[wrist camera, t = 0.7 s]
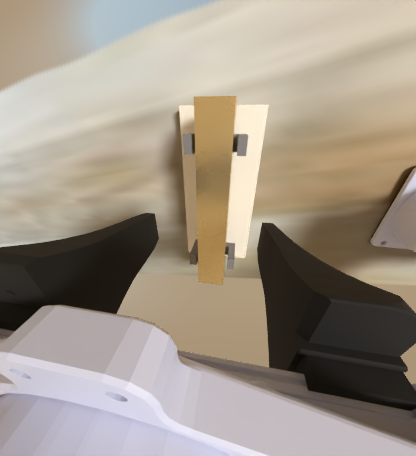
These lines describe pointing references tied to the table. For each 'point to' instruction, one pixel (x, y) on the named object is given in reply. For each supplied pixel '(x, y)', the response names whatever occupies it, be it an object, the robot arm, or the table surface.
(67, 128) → the table surface
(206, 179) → the wooden bar
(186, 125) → the hook stand
